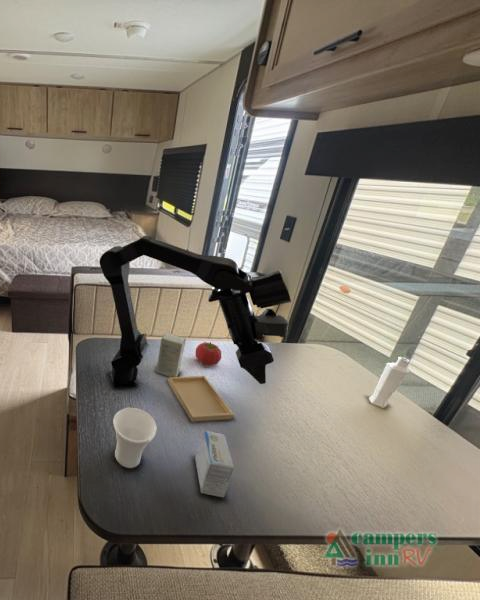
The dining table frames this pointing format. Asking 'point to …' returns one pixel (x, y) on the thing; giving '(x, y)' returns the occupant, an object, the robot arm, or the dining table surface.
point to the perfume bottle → (390, 381)
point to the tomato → (208, 354)
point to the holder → (199, 399)
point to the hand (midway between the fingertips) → (258, 372)
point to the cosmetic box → (170, 355)
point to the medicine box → (214, 464)
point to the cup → (132, 435)
